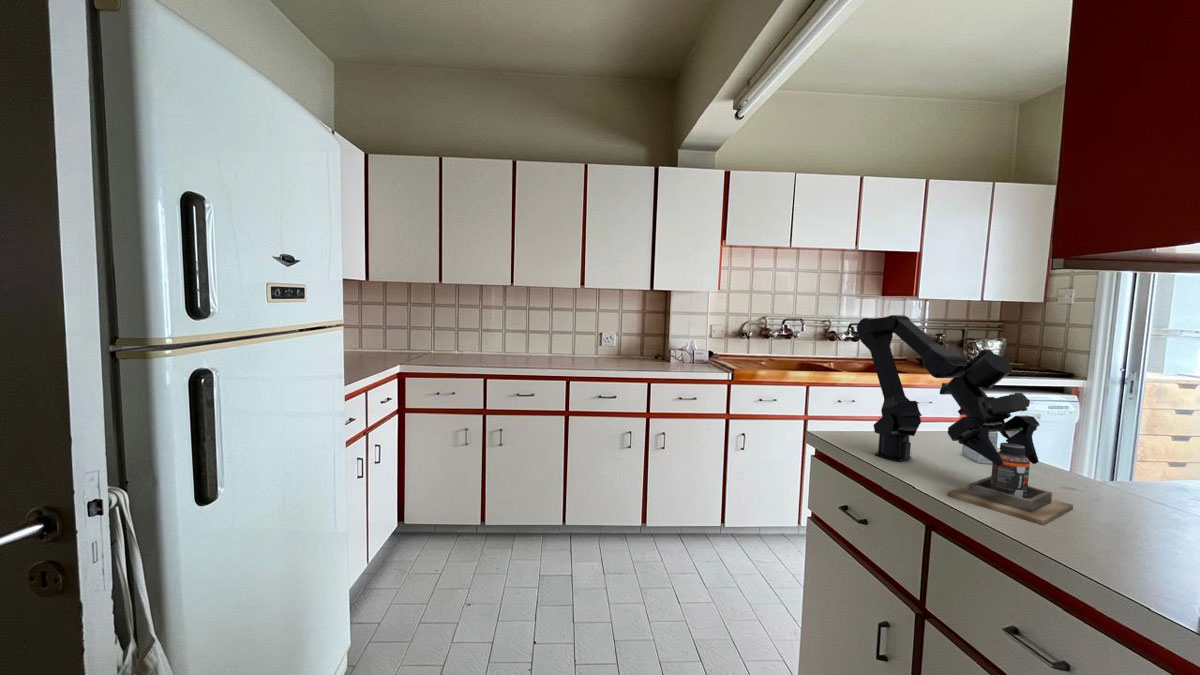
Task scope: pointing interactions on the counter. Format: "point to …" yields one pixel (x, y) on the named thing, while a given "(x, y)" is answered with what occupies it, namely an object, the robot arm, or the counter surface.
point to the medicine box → (976, 456)
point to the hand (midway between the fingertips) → (1018, 463)
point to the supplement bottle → (1011, 471)
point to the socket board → (1013, 501)
